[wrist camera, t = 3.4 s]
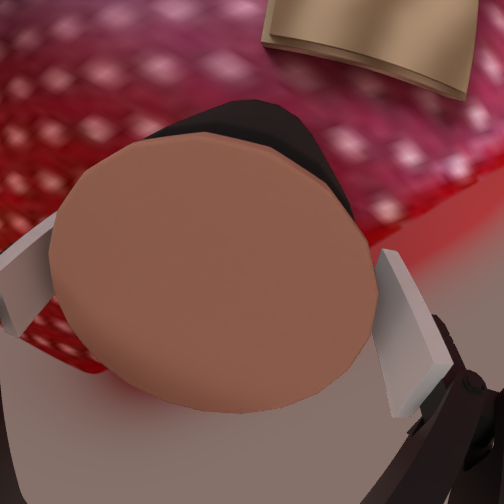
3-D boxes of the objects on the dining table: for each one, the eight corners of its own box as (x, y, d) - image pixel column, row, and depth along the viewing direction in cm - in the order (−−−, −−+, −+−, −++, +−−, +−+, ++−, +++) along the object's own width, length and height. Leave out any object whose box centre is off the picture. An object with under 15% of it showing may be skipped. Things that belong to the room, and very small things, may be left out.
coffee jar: (161, 145, 25) (4, 256, 9) (274, 73, 21) (257, 43, 6) (231, 245, 29) (179, 430, 13) (341, 190, 25) (415, 363, 10)
